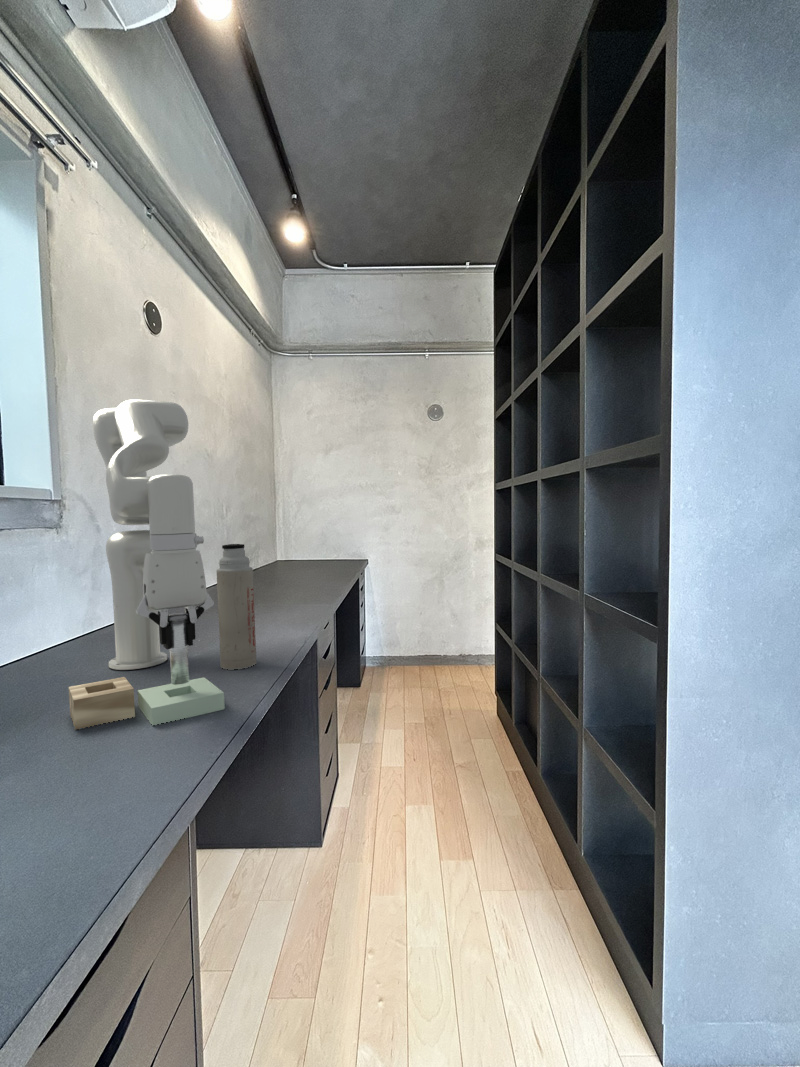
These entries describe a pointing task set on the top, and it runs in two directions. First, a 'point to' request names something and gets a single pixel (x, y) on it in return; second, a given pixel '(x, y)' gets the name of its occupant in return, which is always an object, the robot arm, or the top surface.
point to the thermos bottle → (236, 609)
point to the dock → (180, 700)
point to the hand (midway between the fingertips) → (178, 645)
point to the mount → (101, 702)
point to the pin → (178, 648)
